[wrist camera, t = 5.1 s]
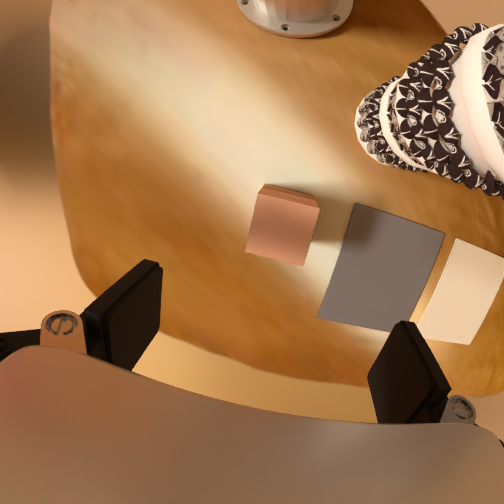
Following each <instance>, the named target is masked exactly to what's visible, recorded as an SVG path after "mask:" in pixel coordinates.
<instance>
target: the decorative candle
mask: <svg viewBox="0 0 504 504" xmlns="http://www.w3.org/2000/svg"><path fill="white" fill-rule="evenodd" d="M459 43H463V44H466V45H467V46H466V47H464V48H463V49H460V48H459ZM354 125H355V129H356V134H357V138H358V141H359V142H360V144H361V145H362V147H363V149H364V150H365V152H366V153H367V154H368V155H369V156H371V157H372V158H373V159H374V160H376V161H377V162H378V163H381V164H384V165H388V166H390V167H392V168H397V169H401V168H403V169H405V170H410V171H422V172H425V173H427V172H433V173H436V174H438V175H440V176H442V177H446V178H449V179H451V180H452V181H453V182H455V183H462V182H464V184H465V185H466V187H468V188H469V189H477V188H479V187H480V188H481V189H482V190H483V191H484V192H485V193H486V194H487V195H489V196H500V195H501V196H502V199H503V200H504V24H499V25H496V26H493V27H491V28H488V27H487V26H485V25H483V24H480V23H475V24H473V25H472V27H471V29H469V28H467V27H458V28H456V29H455V31H454V33H453V34H451V35H447V36H446V37H445V38H444V40H443V42H442V43H441V45H440V44H435V45H433V46H432V47H431V49H430V50H429V51H428V52H427V54H424V55H422V56H421V58H420V59H419V60H418V61H417V62H413V63H411V64H410V65H409V66H408V68H407V70H406V72H405V73H404V75H403V77H399V76H395V77H393V78H392V79H391V80H390V81H387V82H386V83H383V84H382V85H380V86H379V87H378V88H376V89H375V90H374V91H371V92H370V94H367V95H366V97H365V98H364V99H363V100H362V102H361V103H360V105H359V107H358V108H357V110H356V117H355V124H354ZM483 177H485V178H483Z"/></svg>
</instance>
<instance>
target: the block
mask: <svg viewBox="0 0 504 504" xmlns="http://www.w3.org/2000/svg"><path fill="white" fill-rule="evenodd" d="M319 211H320V208H319V206H318V204H317V202H316V200H315V199H314V197H313V196H312V195H308V194H304V193H300V192H297V191H293V190H289V189H285V188H281V187H277V186H272V185H268V184H265V185H264V186H263V187H262V189H261V190H260V191H259V192H258V195H257V200H256V204H255V209H254V213H253V218H252V222H251V227H250V231H249V236H248V240H247V245H246V249H245V252H248V253H252V254H256V255H260V256H264V257H268V258H272V259H276V260H280V261H284V262H288V263H292V264H296V265H300V266H304V263H305V259H306V256H307V253H308V249H309V246H310V243H311V239H312V236H313V232H314V229H315V225H316V222H317V218H318V215H319Z"/></svg>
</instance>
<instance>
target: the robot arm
mask: <svg viewBox="0 0 504 504" xmlns="http://www.w3.org/2000/svg"><path fill="white" fill-rule="evenodd" d="M353 2H354V0H237V3H238V6H239V8H240V10H241V12H242V13H243V14H244V16H245V17H246V18H247V19H248V20H249V21H250V22H252V23H253V24H254V25H256V26H257V27H259V28H261V29H263V30H265V31H267V32H270V33H273V34H276V35H281V36H285V37H294V38H307V37H315V36H320V35H323V34H326V33H329V32H331V31H333V30H335V29H337V28H338V27H340V26H341V25H342V24H343V23H344V22H345V21H346V20H347V18H348V17H349V15H350V13H351V10H352V8H353ZM245 4H247V5H245ZM334 20H336V21H334ZM283 29H287V30H286V31H284V30H283ZM162 277H163V268H162V267H159V263H158V262H154V261H151V260H147V259H144V260H142V261H141V262H140V263H139V264H137V265H136V266H135V267H134V268H132V269H131V270H130V271H129V272H128V273H126V274H125V275H124V276H123V277H122V278H120V279H119V280H118V281H117V282H116V283H114V284H113V285H112V286H111V287H110V288H109V289H107V290H106V291H105V292H104V293H103V294H102V295H100V296H99V297H98V298H97V299H96V300H95V301H93V302H92V303H91V304H90V305H89V306H88V307H87V308H86V309H85V310H84V312H82V313H81V314H80V315H78V314H76V313H74V312H71V311H67V310H66V311H65V310H60V311H55V312H52V313H50V314H48V315H47V316H45V318H44V319H43V320H42V323H41V329H36V330H26V331H16V332H5V333H0V504H504V443H503V442H502V441H501V440H500V439H498V438H497V436H496V435H495V434H494V433H492V432H491V431H489V430H487V429H485V428H482V427H480V426H478V425H477V424H475V419H476V411H475V408H474V407H473V405H472V404H471V402H470V401H469V400H467V399H466V398H464V397H462V396H459V395H453V396H451V397H450V398H449V399H448V397H447V395H448V393H449V392H450V391H451V387H450V385H449V383H448V381H447V379H446V377H445V375H444V374H443V372H442V370H441V368H440V366H439V364H438V362H437V361H436V359H435V357H434V355H433V353H432V352H431V350H430V348H429V346H428V345H427V343H426V341H425V339H424V338H423V336H422V334H421V333H420V331H419V329H418V328H417V326H416V324H415V323H414V322H409V321H404V320H401V321H400V322H399V323H396V324H395V325H394V327H393V329H392V331H391V333H390V335H389V337H388V339H387V341H386V342H385V344H384V346H383V348H382V350H381V352H380V353H379V355H378V357H377V359H376V360H375V362H374V364H373V365H372V367H371V369H370V371H369V373H368V378H367V379H368V383H369V387H370V391H371V395H372V399H373V404H374V408H375V412H376V416H377V421H378V423H365V422H349V421H339V420H329V419H320V418H312V417H305V416H298V415H291V414H285V413H279V412H274V411H269V410H263V409H258V408H254V407H249V406H244V405H240V404H235V403H231V402H227V401H223V400H219V399H215V398H212V397H208V396H204V395H201V394H197V393H193V392H190V391H187V390H184V389H181V388H177V387H174V386H171V385H168V384H165V383H162V382H159V381H156V380H154V379H151V378H148V377H145V376H143V375H140V374H137V373H135V372H132V369H133V368H134V366H135V365H136V363H137V362H138V360H139V359H140V357H141V356H142V354H143V353H144V351H145V349H146V348H147V347H148V345H149V344H150V342H151V341H152V340H153V338H154V336H155V335H156V334H157V332H158V330H159V326H160V309H161V292H162Z"/></svg>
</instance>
